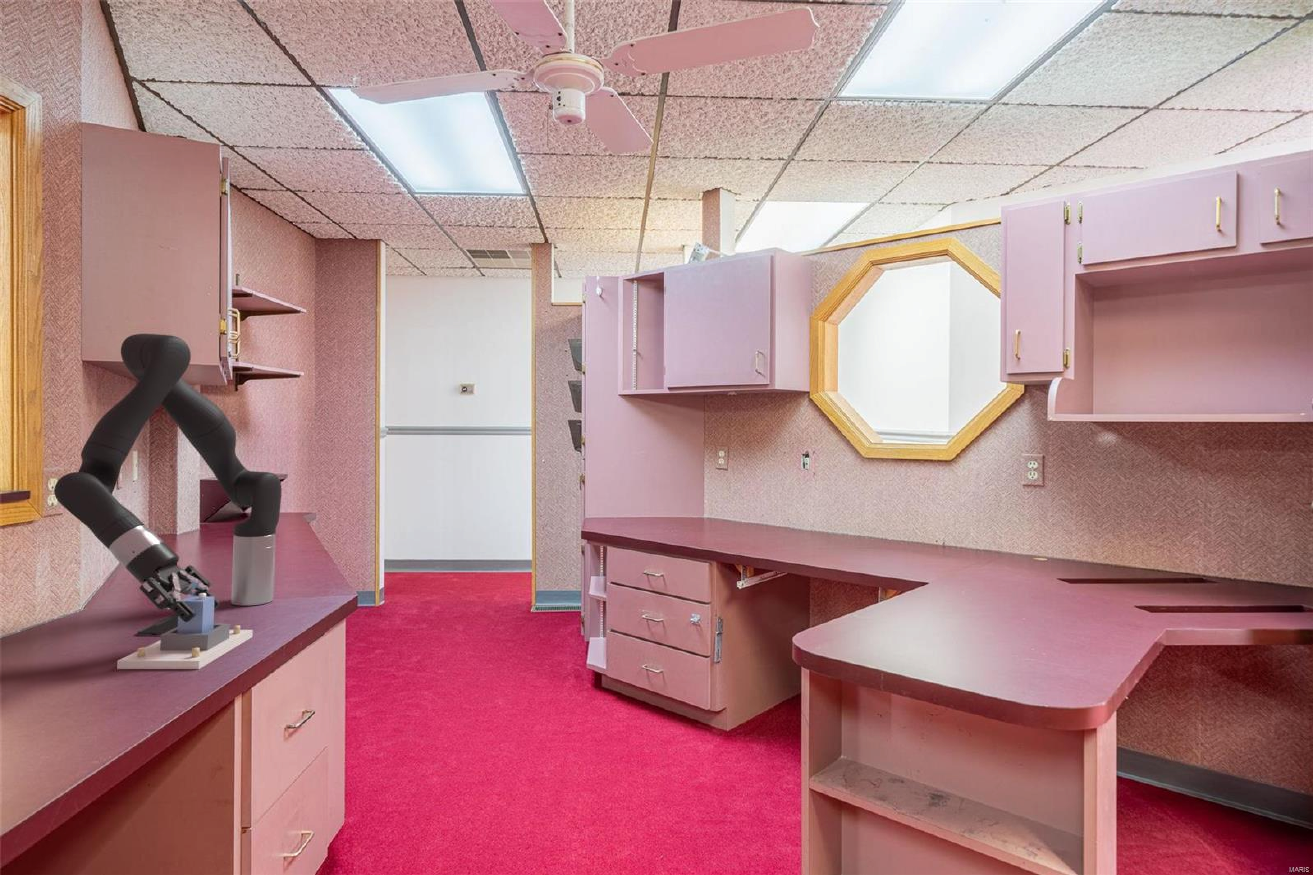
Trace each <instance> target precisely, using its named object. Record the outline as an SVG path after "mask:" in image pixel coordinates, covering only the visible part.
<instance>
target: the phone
mask: <svg viewBox="0 0 1313 875" xmlns="http://www.w3.org/2000/svg"><path fill="white" fill-rule="evenodd" d="M176 627H178V615H177V614H176V613H175V614H173V615H170V616H168V617H165V618H164V619H161V620H159V621H157V622H155V623H152V624H150V625H148V626H146V627H143V628H141V629H139V630H137V636H139V637H161V634H163V633H166V632H168V631H170V630H172V629H174V628H176Z"/></svg>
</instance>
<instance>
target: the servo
mask: <svg viewBox="0 0 1313 875" xmlns="http://www.w3.org/2000/svg"><path fill="white" fill-rule="evenodd" d="M215 598H216V597H215V596H214V597H212V596H206V593H200V594H199V596H193V595H190V596H188V597H185V598H183V599H181V601H184V602H185V603H186V604H187V605H188V606H189V607H190V608H191V609H192V610H193V611H194V612H195V613H196V615H195V617H193V618H192V619H191V620H190V621H188V622H184V621H183V620H182V619H181V618H180V617H179V616H178V633H207V632H209V631H211V630H213V627H214V622H215V620H214V619H215V609H214V599H215ZM181 601H180V602H181Z"/></svg>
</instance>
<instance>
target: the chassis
mask: <svg viewBox="0 0 1313 875" xmlns="http://www.w3.org/2000/svg"><path fill="white" fill-rule="evenodd" d="M230 626H231V624H230V623H219V622H218V623H214V627H213V630H211V631H209V632H207V633H178V627H176V628H174V629H172V630H170V631H168V632H166V633H163V634H161V636H160V639H159V640H158V641H156V642H154V643H152V644H149V645H147V646H146V647H145V646H143V647H138V648H137V651H135V652H133V653H131V654H129V655H126V656H124V657H122V658H120V659H118V660H117V661H116V662H117V663H116V664H117V667H116V668H117V669H116V670H200V669H202V668H203V667H205V666H206V665H208V664H210V663H212V662H214V661H215V660H216V659H218V658H220V657H221V656H223V655H225V654H226V653H228V652H230V651H232V650H233V649H235V648H237V647H238V646H239V645H241V644H243V643H245V642H246V641H249V639H251V638H253V633H254V632H253V630H254V629H241V625H238V624H237V625H234V626H233V629H230Z"/></svg>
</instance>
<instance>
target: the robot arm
mask: <svg viewBox="0 0 1313 875" xmlns="http://www.w3.org/2000/svg"><path fill="white" fill-rule="evenodd" d="M120 355H121V359H122V362H123V365H125V367H126V368H127V370H128V371H129V372H130V373H131V375H133V377H135V379H137V381H138V382H137V383H136V384H135V386H134V387H133V388H132V389H131V391H129V393H128V394H126V396H124V397H123V398H122V399H120V400H119V401H118V402H117V403H116V404H115V405H114V406H112V407H111V408H110V409H109V410H108V411H106V413H105V414H104V415H102V417H101V418H100V419H99V420H98V422H97V423H96V425H95V426H94V428H93V430H92V431H91V433H90V435H89V437H88V438H87V439H86V442H85V443H84V445H83V448H82V450H81V452H80V458H81V465H80V467H79V469H78V471H75V472H69V473H67V474H64V475H62V476H61V477H60V478H59V479H58V480H57V481H56V483H55V485H54V487H53V488H54V490H53V492H54V497H55V499H56V501H57V502H58V503H59V504H60V505H61V506H62V507H64V509H66V511H68V512H69V513H70V514H71V515H73V516H74V517H75V518H77V519H78V520H79V522H81V523H82V524H84V526H86V527H87V528H88V529H89V530H90V532H91V533H93V535H94V536H95V538H97V540H98V541H99V542H101V543H102V544H103V545H104V546H105V548H107V549H108V550H109V552H110V553H111V554H112V555H113V556H114V558H115V559H116V561H118V562H119V564H121V565H122V566H123V567H124V568H125V570H127V571H128V573H129V574H131V575H132V576H133V577H134V579H136V580H137V581H138V582H139V583H140V584H141V585H140V586H139V587H138V588H139V590H140V591H141V592H142V593H143V594H144V595H145V596H146V597H147V598H148V600H150V601H151V602H152V603H153V605H155V607H156V608H157V609H158V610H161V611H162V610H164V609H167V610H172V611H173V612H174V613H175V614H177V615H178V616H179V617H180V618H181V619H182V620H183V621H184V622H188V621H190V620H191V619H192V618H193V617H195V615H196V613H195V612H194V611H193V610H192V609H191V608H190V607H189V606H188V605H187V604H186V603H185V602H184V601H181V600H182V597H181V594H183V595H185V596H187V595H190V596H199V594H200V593H206V596H212V597H215V596H214V594H212V593H211V591H209V589H210V587H211V586H212V583H211V582H210V581H209V580H208V579H207V578H205V576H204V575H203V574H202V573H201V572H200V571H198V570H197V568H195V567H194V566H193V565H191V564H189V565H188V566H186V567H185V568H184V569H183V568H182V567H180V566H179V565H178V562H179V561H180V557H179V555H178V554H177V553H176V552H175V551H174V550H173V549H172V548H171V547H170V546H169V545H168V544H167V543H166V542H164V541H163V539H162V538H161V537H159V535H157V533H155V532H154V531H153V530H152V529H151V528H149V527H147V525H146V524H144V523H143V521H142V520H140V519H139V518H138V517H137V516H136V515H135V514H134V513H133V512H132V511H131V510H129V509H128V508H126V507H125V506H124V505H122V504H121V503H120V502H119V501H118V499H117V498H115V496H114V495H113V493H114V492H115V491H114V490H115V488H116V486H117V482H118V479H119V476H120V473H121V468H122V466H123V464H124V463H125V461H126V459H127V458H128V456H129V453H130V452H131V450H132V448H133V447H134V444H135V443H136V441H137V438H138V437H139V435H140V433H141V431H142V430H143V428H144V427H145V425H146V423H147V422H148V420H149V419H150V418H151V416H152V415H153V414H154V413H155V411H156V410H157V409H158V407H159V406H160V405H161V406H162V408H163V409H164V410H165V412H166V413H167V414H168V415H169V417H170V418H171V419H172V421H174V423H175V424H176V425H177V427H178V429H179V430H180V431H181V433H182V434H183V435H184V437H185V438H186V439H187V441H188V442H189V444H191V445H192V447H193V448H194V449H195V450H196V451H197V452H198V454H199V455H200V457H201V458H202V459H203V461H205V463H206V464H207V466H208V468H209V469H210V470H211V472H212V473H213V474H214V476H215V478H216V480H217V481H218V483H219V485H220V486H221V488H222V490H223V492H224V493H225V495H226V497H227V498H228V499H229V500H230V502H231V503H233V504H234V505H236V506H238V507H241V508H250V509H251V510H250V514H249V517H248V518H246V519H245V520H242V521H241V520H240V521H239V522H236V523H235V524H234V526H233V544H232V545H233V546H232V548H233V551H232V573H231V574H232V575H231V576H232V578H231V597H230V598H231V599H230V600H231V601H230V603H231V604H232V605H234V606H243V607H244V606H258V605H263V604H264V605H265V604H268V603H271V602H272V601H274V587H275V585H274V584H275V564H276V563H275V557H276V531H277V526H278V523H279V520H280V512H281V502H282V483H281V480H280V478H279V476H278V475H277V474H275V473H273V472H271V471H270V472H269V471H251V470H249V469H248V468H246V467H245V466H244V465H243V464H242V462H241V461H240V459H239V458H238V456H237V454H236V444H237V433H236V430H235V428H234V427H233V424H232V423H231V422H230V420H229V419H228V417H227V416H226V415H225V413H224V411H222V409H221V408H220V407H219V406H218V405H217V404H216V403H214V401H212V400H211V399H209V398H208V397H206V396H205V395H203V394H202V393H200V392H199V391H198V390H196V389H195V388H194V387H192V386H191V385H189V384H188V383H187V382H186V381H185V380H184V379H183V378H182V377H183V375H184V374H185V373H186V371H187V370H188V368H189V365H190V363H191V358H192V357H191V356H192V354H191V349H190V347H189V345H188V343H186V341H185V340H184V339H182V338H181V337H178V336H175V335H171V334H159V333H136V334H132V335H129V336H127V337H126V338H125V339H124V340H123V342H122V343H121V347H120ZM159 596H160V599H159ZM180 601H181V602H180ZM220 605H221V602H220V601H219V600H218V599H217V598H216V597H215V599H214V610H216V609H217V608H218V607H219V606H220Z"/></svg>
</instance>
